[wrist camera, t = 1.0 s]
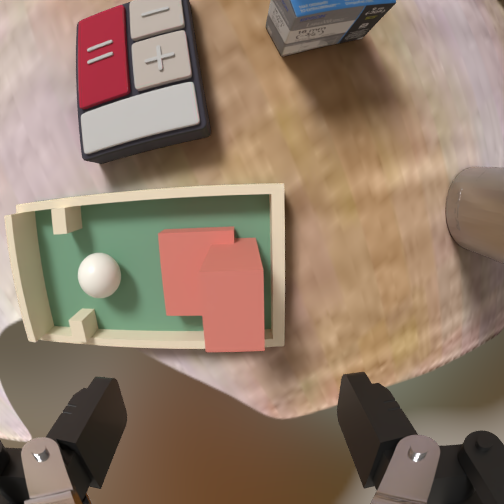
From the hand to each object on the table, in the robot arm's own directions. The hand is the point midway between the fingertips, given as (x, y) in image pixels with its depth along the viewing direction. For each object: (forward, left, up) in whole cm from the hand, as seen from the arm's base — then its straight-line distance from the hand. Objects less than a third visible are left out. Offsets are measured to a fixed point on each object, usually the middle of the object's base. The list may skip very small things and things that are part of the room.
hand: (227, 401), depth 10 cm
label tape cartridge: (-8, -22, -19) cm, 30 cm away
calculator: (+8, -18, -20) cm, 28 cm away
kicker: (+2, 0, -18) cm, 18 cm away
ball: (+12, 0, -16) cm, 20 cm away
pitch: (+8, 0, -19) cm, 21 cm away
